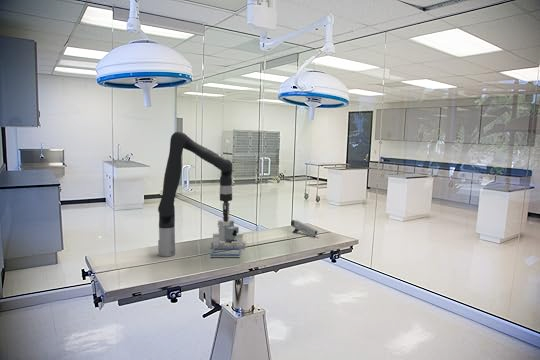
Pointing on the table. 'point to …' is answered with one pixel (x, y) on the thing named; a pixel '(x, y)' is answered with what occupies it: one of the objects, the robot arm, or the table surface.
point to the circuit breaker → (227, 231)
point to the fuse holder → (228, 245)
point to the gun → (303, 228)
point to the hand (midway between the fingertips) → (226, 220)
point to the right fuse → (239, 240)
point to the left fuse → (216, 240)
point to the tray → (225, 254)
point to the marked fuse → (227, 221)
